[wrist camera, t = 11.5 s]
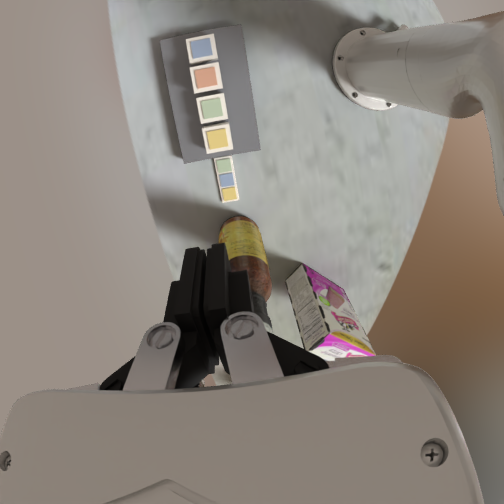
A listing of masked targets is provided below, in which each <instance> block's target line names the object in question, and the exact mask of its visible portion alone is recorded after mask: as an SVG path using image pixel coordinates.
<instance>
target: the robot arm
mask: <svg viewBox="0 0 504 504" xmlns="http://www.w3.org/2000/svg"><path fill="white" fill-rule="evenodd" d="M360 32H361V34H362V35H361V34H360ZM338 57H339V58H340V60H338ZM332 64H333V72H334V75H335V78H336V81H337V83H338V85H339V87H340V88H341V90H342V91H343V92H344V94H345V95H346V96H347V97H348V98H349V99H350V100H351V101H353V102H354V103H356V104H357V105H359V106H361V107H364V108H367V109H370V110H376V111H383V110H389V109H392V108H394V107H396V106H398V105H403V106H407V107H411V108H415V109H419V110H423V111H427V112H431V113H435V114H438V115H442V116H446V117H449V118H456V119H462V118H467V117H471V116H473V115H475V114H477V113H479V112H480V111H482V110H483V111H484V114H485V118H486V122H487V127H488V131H489V135H490V141H491V148H492V155H493V164H494V173H495V182H496V192H497V198H498V203H499V206H500V209H501V211H502V213H503V215H504V11H501V12H497V13H493V14H489V15H485V16H481V17H477V18H473V19H468V20H464V21H459V22H452V23H444V24H437V25H429V26H423V27H416V28H410V29H409V28H408V27H407V26H405V25H401V26H400V27H399V29H398V30H397V31H393V32H388V33H387V32H385V31H382V30H379V29H376V28H370V27H368V28H359V29H355V30H353V31H350V32H349V33H347V34H346V35H344V36H343V37H342V38H341V39H340V40H339V42H338V44H337V45H336V47H335V50H334V54H333V63H332ZM352 93H353V94H354V95H353V96H352ZM386 103H387V105H386ZM219 357H220V360H221V362H222V364H223V366H224V369H225V372H227V373H228V374H230V375H231V379H232V383H233V384H229V385H220V386H211V387H204V383H205V382H204V378H205V377H206V376H207V375H208V374H213V373H215V365H219ZM422 446H423V447H422ZM0 504H484V501H483V497H482V493H481V489H480V485H479V481H478V477H477V474H476V471H475V468H474V465H473V462H472V459H471V456H470V453H469V450H468V448H467V445H466V442H465V440H464V437H463V434H462V432H461V429H460V427H459V425H458V423H457V420H456V418H455V416H454V414H453V412H452V410H451V408H450V406H449V404H448V402H447V400H446V399H445V397H444V395H443V393H442V392H441V390H440V389H439V387H438V385H437V384H436V383H435V381H434V380H433V379H432V378H431V377H430V376H429V375H428V374H427V373H426V372H425V371H423V370H422V369H420V368H418V367H416V366H413V365H409V364H404V363H403V362H402V361H400V359H399V358H397V357H394V356H391V355H380V356H365V357H345V358H335V361H325V360H324V359H323V358H321V357H319V356H317V355H315V354H313V353H311V352H309V351H307V350H305V349H303V348H300V347H298V346H296V345H294V344H292V343H290V342H288V341H286V340H284V339H282V338H280V337H278V336H276V335H274V334H272V333H270V332H268V331H266V329H265V326H264V323H263V321H262V319H261V318H260V317H259V316H258V315H257V314H255V313H254V307H253V299H252V293H251V287H250V282H249V276H248V271H247V270H242V271H236V272H232V271H231V267H230V262H229V258H228V253H227V249H226V245H225V242H224V243H218V244H213V245H212V248H209V249H207V257H206V253H205V250H204V249H203V250H200V248H199V247H195V248H189V249H186V250H185V255H184V260H183V265H182V270H181V276H180V280H179V281H173V282H172V283H171V287H170V291H169V296H168V301H167V306H166V311H165V317H164V321H163V322H162V323H159V324H156V325H154V326H153V327H151V328H150V329H149V330H147V331H146V333H145V335H144V336H143V339H142V341H141V344H140V346H139V349H138V351H137V354H136V356H135V357H134V358H132V359H131V360H130V361H129V362H127V363H126V364H125V365H123V366H122V367H121V368H120V369H118V370H117V371H116V372H114V373H113V374H112V375H111V376H109V377H108V378H107V379H106V380H105V381H104V382H103V383H102V384H101V385H99V384H98V383H96V384H91V385H86V386H81V387H76V388H71V389H51V390H42V391H36V392H32V393H30V394H27V395H25V396H23V397H21V398H20V399H18V400H17V401H16V402H15V403H14V404H13V406H12V408H11V410H10V412H9V414H8V417H7V419H6V421H5V424H4V427H3V430H2V433H1V436H0Z"/></svg>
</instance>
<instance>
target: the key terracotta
mask: <svg viewBox="0 0 504 504" xmlns="http://www.w3.org/2000/svg"><path fill="white" fill-rule="evenodd" d="M190 73H191V78H192V84H193V89H194V94H195V93H200V92H205V91H211V90H216V89H222V88H223V85H222V79H221V73H220V67H219V62H216V63H210V64H205V65H200V66H195V67H190Z"/></svg>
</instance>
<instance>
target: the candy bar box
mask: <svg viewBox="0 0 504 504" xmlns="http://www.w3.org/2000/svg"><path fill="white" fill-rule="evenodd" d="M285 283H286V286H287V290H288V293H289V296H290V300H291V303H292V307H293V311H294V315H295V318H296V321H297V325H298V329H299V332H300V336H301V339H302V343H303V347H304V349H305V350H307V351H309V352H311V353H313V354H315V355H317V356H319V357H321V358H323V359H324V360H325V361H335V358H345V357H365V356H375V355H376V354H375V352H374V350H373V348H372V346H371V344H370V342H369V340H368V338H367V335H366V333H365V331H364V329H363V327H362V325H361V323H360V321H359V319H358V317H357V315H356V313H355V311H354V309H353V307H352V305H351V303H350V301H349V299H348V297H347V295H346V293H345V291H344V289H342V288H341V287H339V286H337V285H336V284H334V283H333V282H331V281H330V280H328V279H326V278H325V277H323V276H322V275H320V274H319V273H317V272H316V271H314V270H312V269H311V268H309V267H308V266H306V265H305V264H303V263H302V264H301V265H300V266H299V267H298V268H297V269H296V271H295V272H294V273H293V274H292V275H291V276H290V277H289V278H288V279H287V280H286V281H285Z"/></svg>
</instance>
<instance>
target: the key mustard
mask: <svg viewBox="0 0 504 504" xmlns="http://www.w3.org/2000/svg"><path fill="white" fill-rule="evenodd" d="M202 132H203V137H204V142H205V147H206V152H207V154H209V153H215V152H220V151H226V150H232V149H233V143H232V138H231V132H230V126H229V122H225V123H219V124H214V125H209V126H203V128H202Z"/></svg>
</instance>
